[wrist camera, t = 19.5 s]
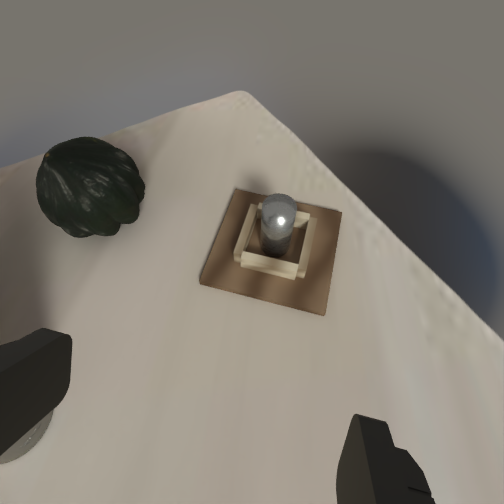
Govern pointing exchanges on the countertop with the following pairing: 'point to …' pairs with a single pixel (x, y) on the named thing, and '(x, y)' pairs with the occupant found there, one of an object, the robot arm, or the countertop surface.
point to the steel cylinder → (277, 224)
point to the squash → (89, 187)
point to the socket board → (275, 268)
